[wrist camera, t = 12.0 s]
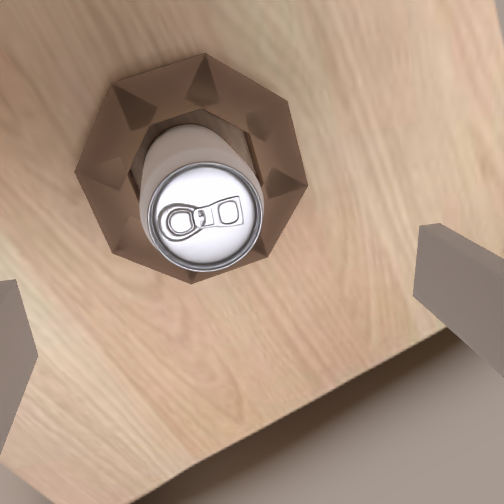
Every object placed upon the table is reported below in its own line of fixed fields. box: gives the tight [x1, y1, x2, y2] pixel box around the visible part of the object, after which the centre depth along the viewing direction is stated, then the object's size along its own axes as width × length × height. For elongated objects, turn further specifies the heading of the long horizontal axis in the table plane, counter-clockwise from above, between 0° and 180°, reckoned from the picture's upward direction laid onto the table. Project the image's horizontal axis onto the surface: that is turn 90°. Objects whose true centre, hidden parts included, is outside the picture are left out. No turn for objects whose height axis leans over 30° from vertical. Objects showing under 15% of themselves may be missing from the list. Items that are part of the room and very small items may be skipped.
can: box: [139, 124, 264, 272], centre depth 27 cm, size 6×6×12 cm
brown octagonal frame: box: [74, 53, 308, 284], centre depth 32 cm, size 14×14×2 cm
